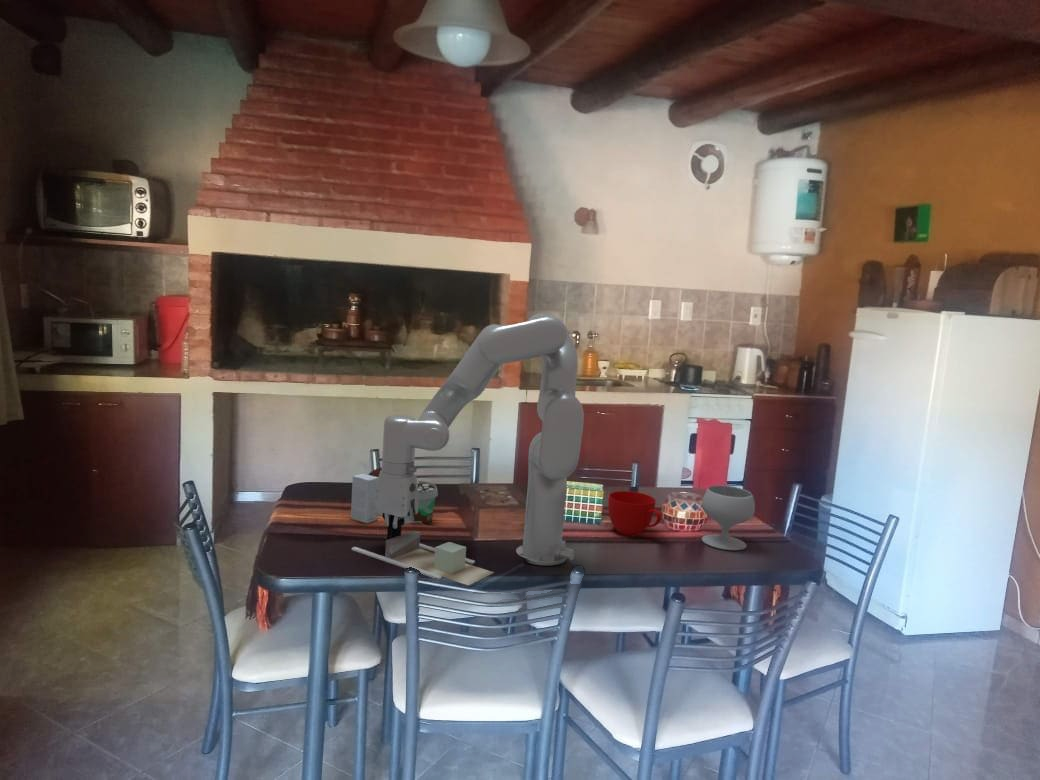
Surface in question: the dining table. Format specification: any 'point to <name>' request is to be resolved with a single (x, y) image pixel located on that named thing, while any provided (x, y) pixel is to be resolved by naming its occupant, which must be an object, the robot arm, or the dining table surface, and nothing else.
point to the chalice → (727, 514)
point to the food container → (425, 502)
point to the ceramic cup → (631, 512)
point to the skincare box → (364, 498)
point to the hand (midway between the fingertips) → (393, 542)
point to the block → (450, 557)
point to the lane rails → (403, 563)
